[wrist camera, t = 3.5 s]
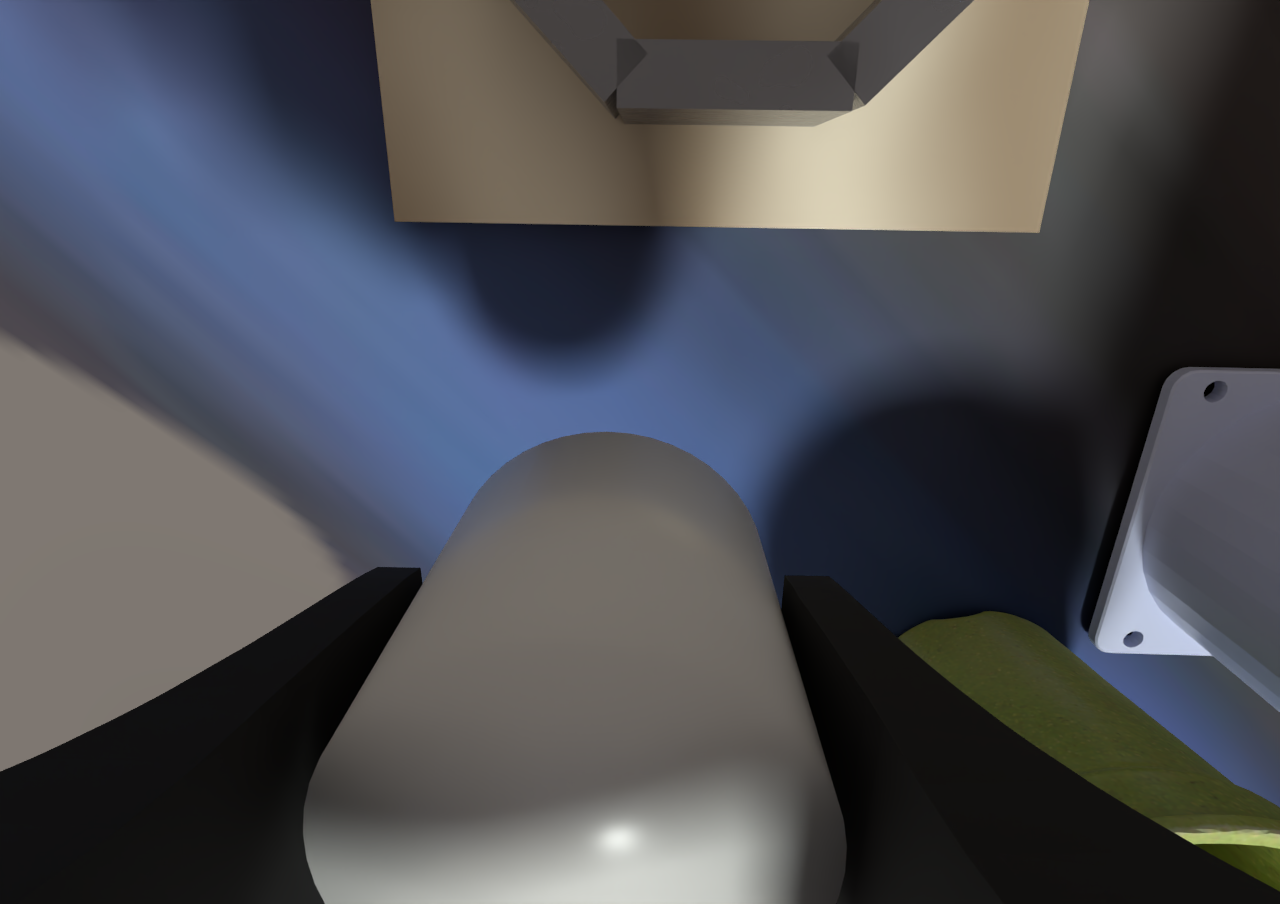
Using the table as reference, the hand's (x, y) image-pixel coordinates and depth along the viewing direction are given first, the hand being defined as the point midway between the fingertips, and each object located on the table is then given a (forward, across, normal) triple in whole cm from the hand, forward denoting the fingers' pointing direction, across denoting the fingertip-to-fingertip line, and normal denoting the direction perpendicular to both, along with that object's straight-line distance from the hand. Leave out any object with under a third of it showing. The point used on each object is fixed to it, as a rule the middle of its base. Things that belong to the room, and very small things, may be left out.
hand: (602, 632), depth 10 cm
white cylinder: (+2, 0, 0) cm, 2 cm away
